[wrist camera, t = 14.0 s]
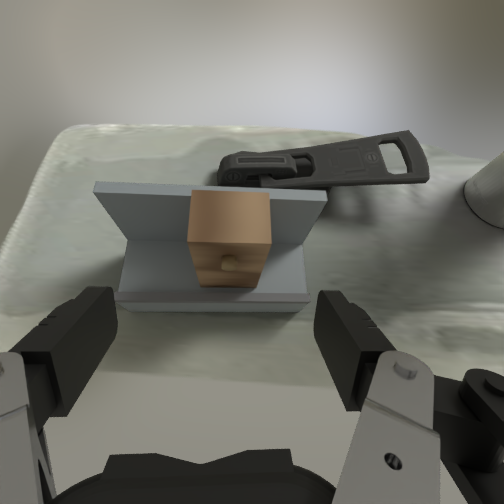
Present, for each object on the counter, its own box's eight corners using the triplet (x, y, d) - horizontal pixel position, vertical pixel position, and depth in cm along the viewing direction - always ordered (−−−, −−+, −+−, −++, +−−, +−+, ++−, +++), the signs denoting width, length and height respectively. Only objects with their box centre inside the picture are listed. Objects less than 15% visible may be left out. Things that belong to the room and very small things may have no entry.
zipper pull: (438, 182, 31) (217, 185, 28) (404, 213, 37) (219, 218, 34) (413, 125, 35) (215, 122, 32) (386, 161, 41) (217, 162, 38)
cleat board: (293, 251, 33) (325, 190, 22) (298, 312, 30) (338, 276, 19) (140, 247, 32) (95, 181, 21) (129, 311, 29) (71, 273, 18)
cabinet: (255, 250, 28) (269, 192, 19) (256, 296, 27) (272, 254, 17) (202, 249, 28) (191, 189, 19) (200, 295, 26) (185, 253, 17)
